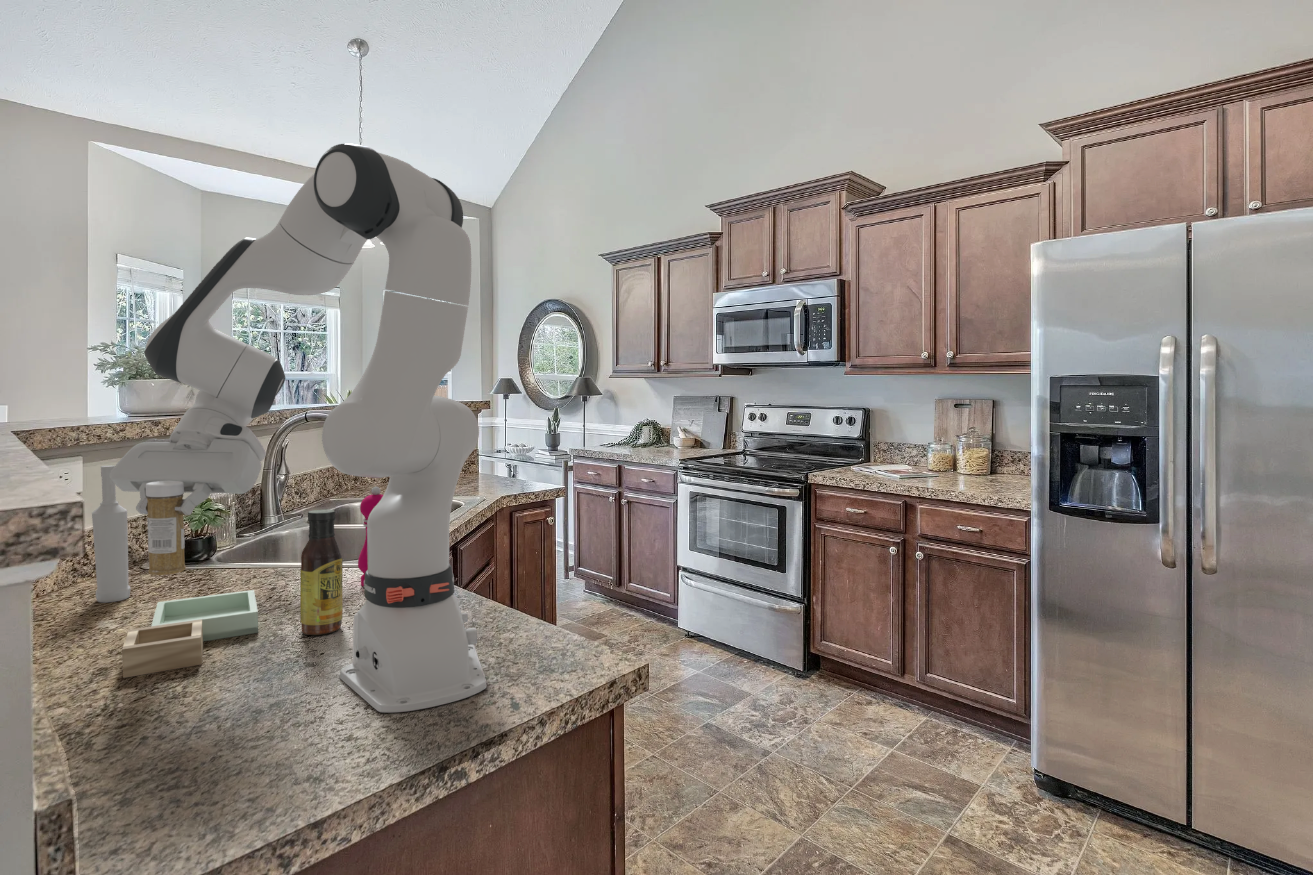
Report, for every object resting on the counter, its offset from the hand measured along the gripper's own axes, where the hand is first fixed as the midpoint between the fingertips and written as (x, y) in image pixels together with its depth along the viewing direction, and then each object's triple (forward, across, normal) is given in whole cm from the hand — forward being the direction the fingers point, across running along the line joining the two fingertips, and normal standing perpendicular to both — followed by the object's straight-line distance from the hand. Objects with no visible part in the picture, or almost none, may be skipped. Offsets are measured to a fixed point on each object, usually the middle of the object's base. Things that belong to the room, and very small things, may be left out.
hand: (162, 512), depth 99 cm
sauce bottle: (+7, +17, +24) cm, 30 cm away
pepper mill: (-12, +15, +43) cm, 47 cm away
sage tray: (+7, -2, +24) cm, 25 cm away
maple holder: (+16, +1, +14) cm, 22 cm away
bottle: (-3, -30, +34) cm, 46 cm away
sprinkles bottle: (+6, 0, +7) cm, 9 cm away
